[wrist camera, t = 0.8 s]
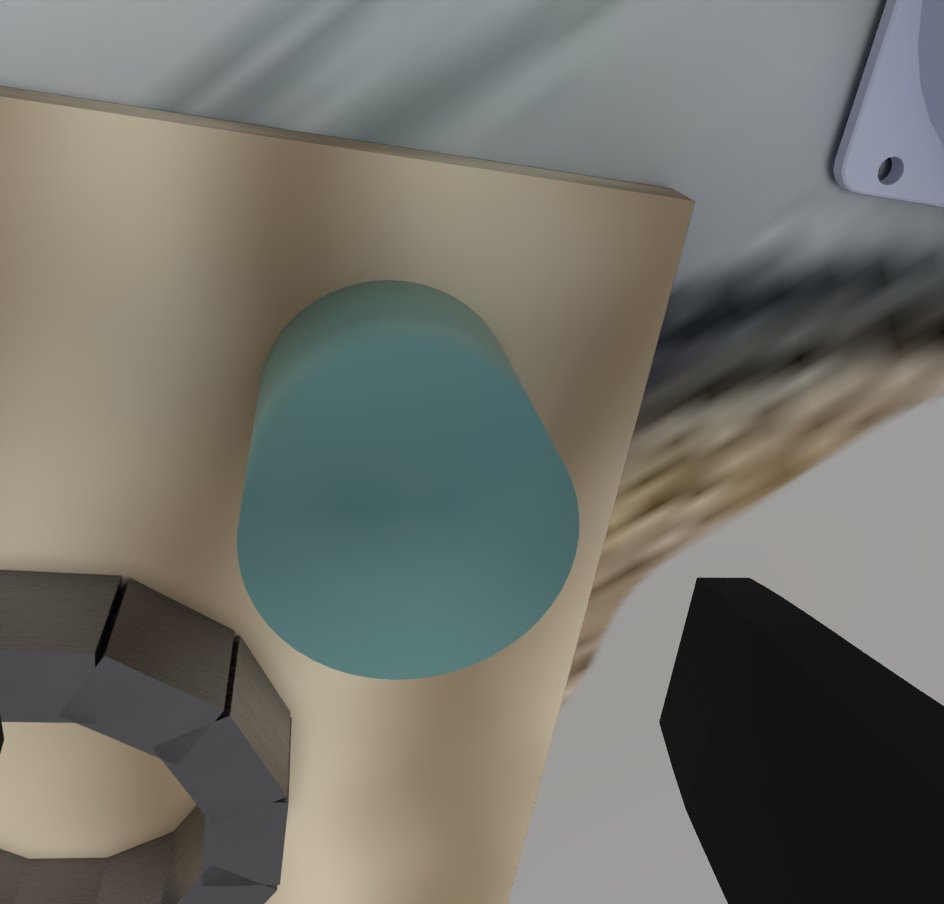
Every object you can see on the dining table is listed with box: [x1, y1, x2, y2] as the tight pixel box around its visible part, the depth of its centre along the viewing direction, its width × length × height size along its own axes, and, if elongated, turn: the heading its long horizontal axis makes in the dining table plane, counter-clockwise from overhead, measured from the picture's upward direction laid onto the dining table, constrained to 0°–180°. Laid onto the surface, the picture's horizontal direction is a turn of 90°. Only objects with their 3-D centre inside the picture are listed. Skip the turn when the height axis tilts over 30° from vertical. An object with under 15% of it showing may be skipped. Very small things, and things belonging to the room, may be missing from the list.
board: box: [0, 86, 695, 904], centre depth 19 cm, size 16×20×1 cm
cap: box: [237, 280, 580, 680], centre depth 15 cm, size 5×5×5 cm
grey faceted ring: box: [0, 570, 292, 904], centre depth 18 cm, size 10×10×2 cm
